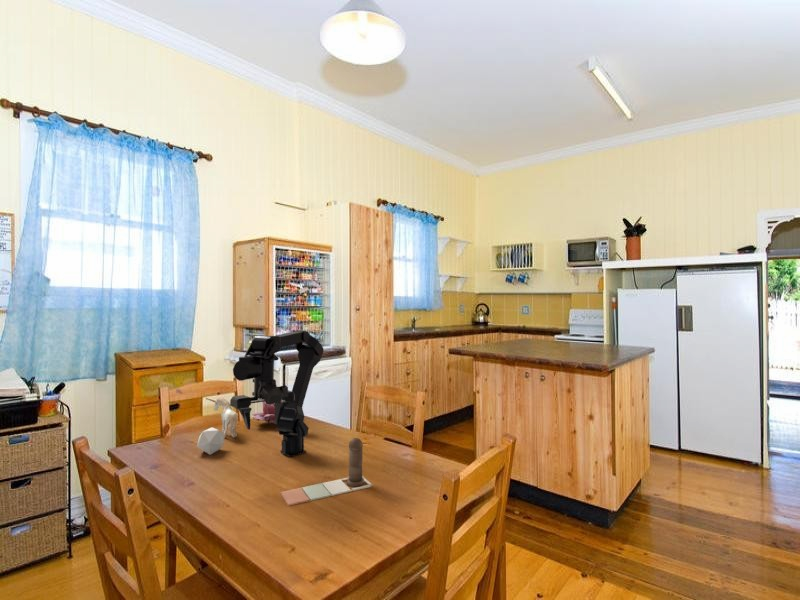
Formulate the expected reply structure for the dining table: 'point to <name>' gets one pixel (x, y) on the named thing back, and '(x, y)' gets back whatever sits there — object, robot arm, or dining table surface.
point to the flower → (266, 414)
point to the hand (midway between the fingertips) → (262, 426)
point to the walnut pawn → (355, 463)
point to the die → (211, 440)
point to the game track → (318, 491)
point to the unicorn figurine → (226, 416)
